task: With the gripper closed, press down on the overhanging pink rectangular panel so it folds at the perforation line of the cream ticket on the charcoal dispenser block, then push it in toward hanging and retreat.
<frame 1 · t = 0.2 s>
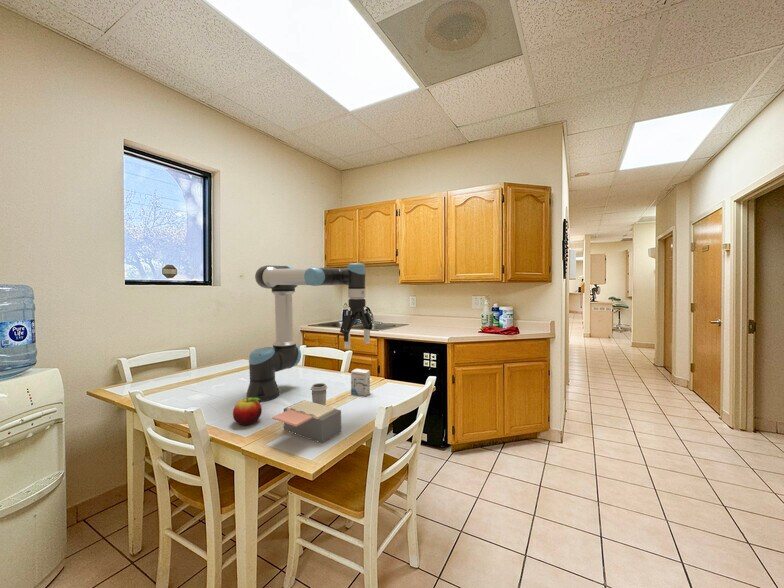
hand: (357, 346, 145), 28 cm above the table, fingers open, 13 cm apart
cup: (319, 412, 141), on the table
fruit: (247, 422, 132), on the table
pink rectangular panel: (292, 417, 116), point 9 cm above the table, hinge at 0.0°
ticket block: (312, 430, 124), on the table
ink box: (360, 393, 165), on the table
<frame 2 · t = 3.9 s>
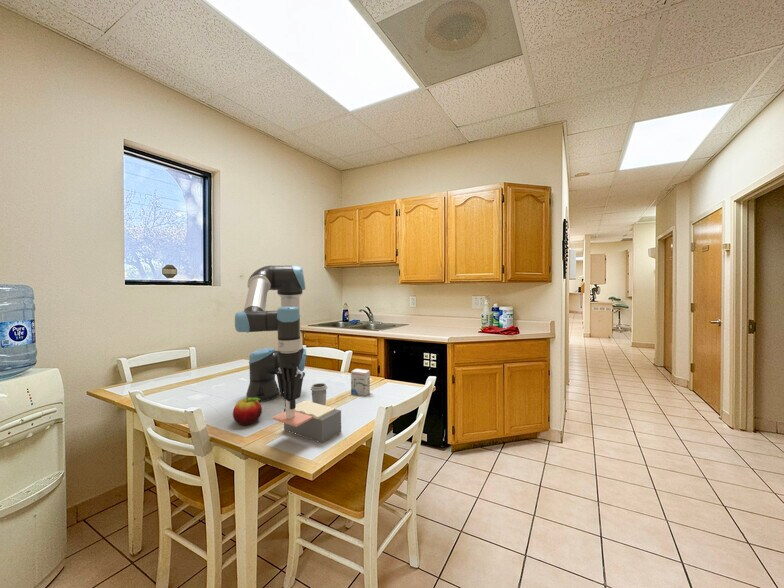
hand: (290, 417, 115), 9 cm above the table, fingers closed
pink rectangular panel: (292, 417, 116), point 9 cm above the table, hinge at 0.6°, touching gripper
everything else where it was.
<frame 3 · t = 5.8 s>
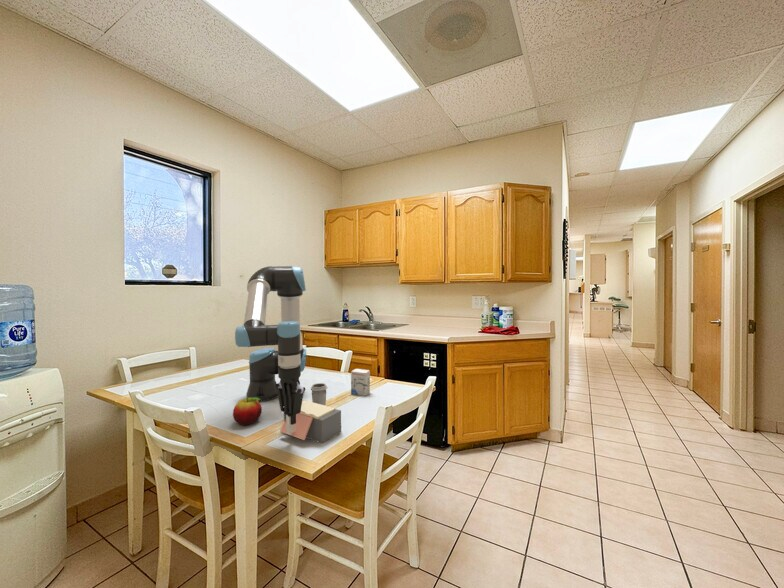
hand: (290, 432, 115), 4 cm above the table, fingers closed
pink rectangular panel: (296, 424, 117), point 5 cm above the table, hinge at 55.6°, touching gripper
everything else where it was.
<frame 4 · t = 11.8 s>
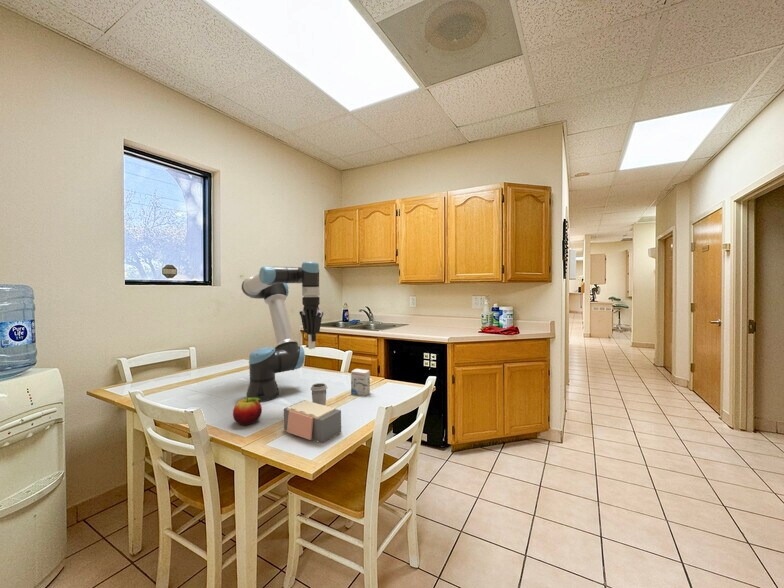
hand: (311, 348, 148), 26 cm above the table, fingers closed
pink rectangular panel: (299, 424, 119), point 5 cm above the table, hinge at 81.1°
everything else where it was.
at the end: pink rectangular panel at +81° (first picture: +0°) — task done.
